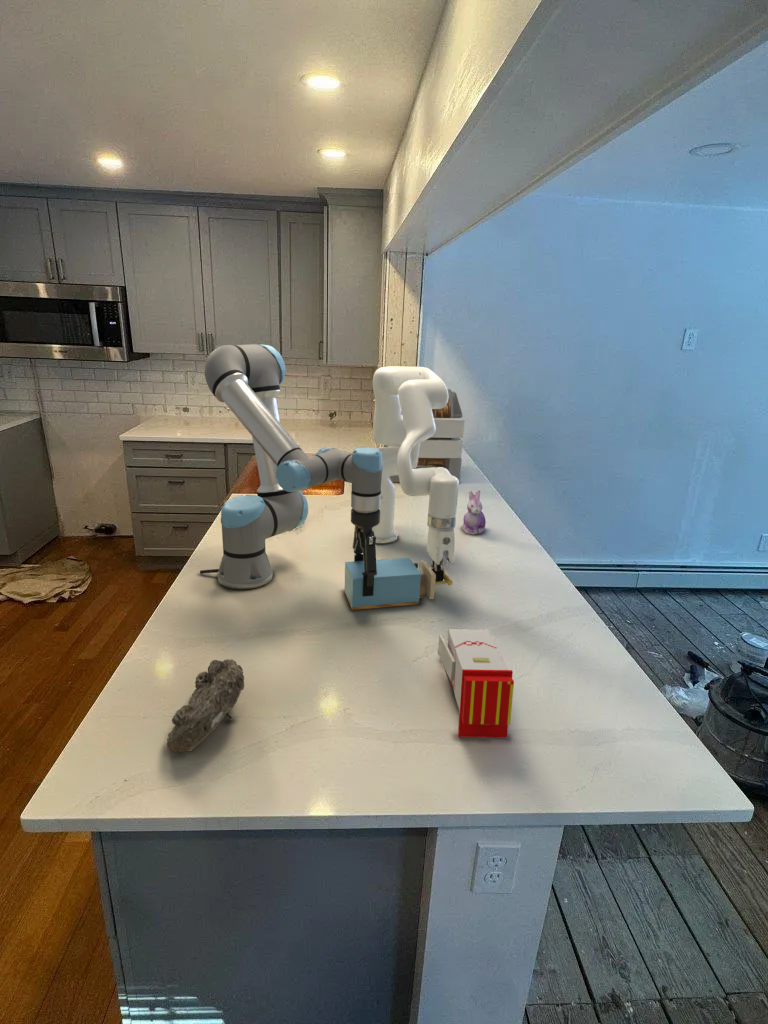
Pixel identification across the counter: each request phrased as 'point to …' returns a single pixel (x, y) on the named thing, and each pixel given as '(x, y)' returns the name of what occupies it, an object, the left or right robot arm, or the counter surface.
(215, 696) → the fossil
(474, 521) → the figurine
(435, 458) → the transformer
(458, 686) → the toy
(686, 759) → the counter surface
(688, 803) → the counter surface
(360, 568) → the cabinet
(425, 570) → the drawer
